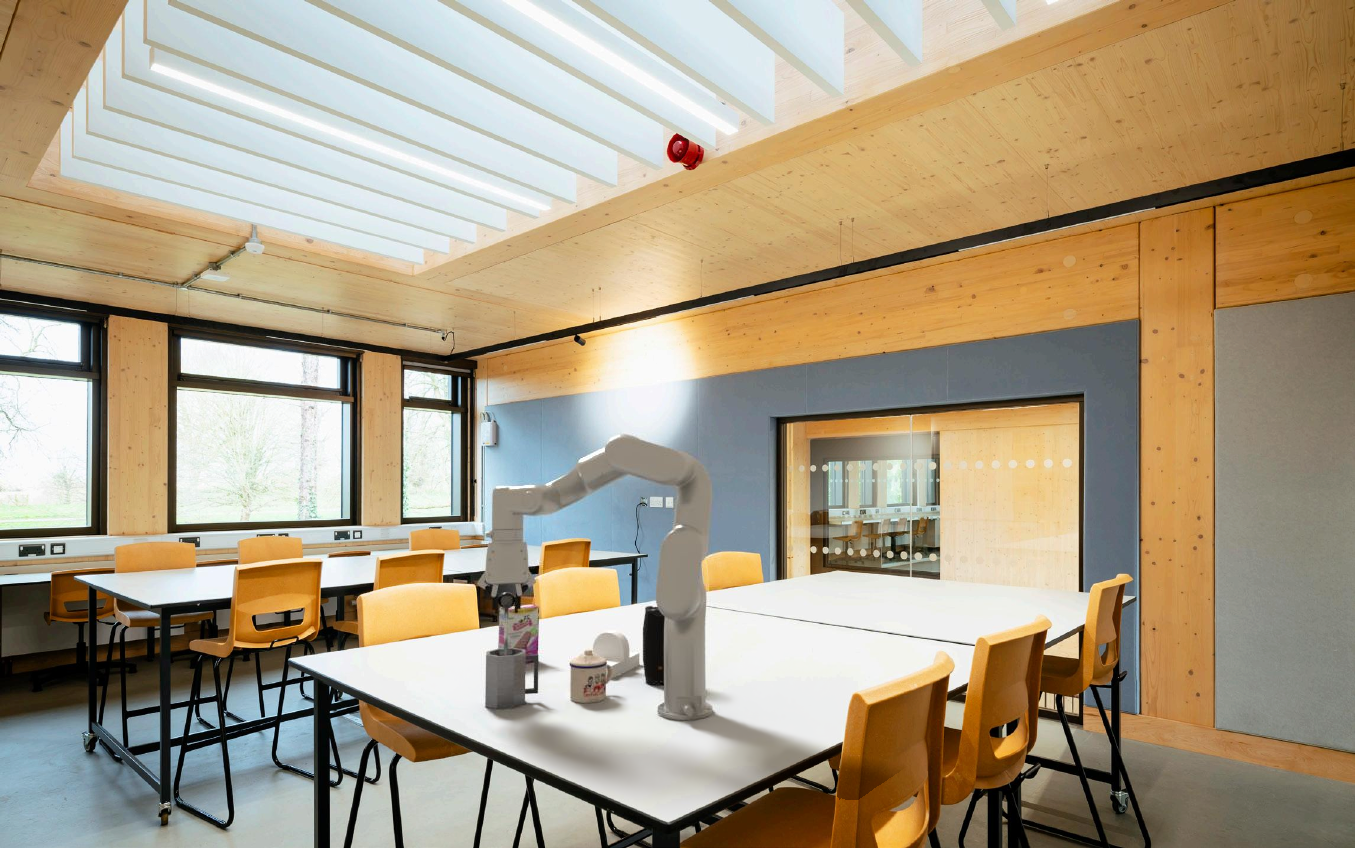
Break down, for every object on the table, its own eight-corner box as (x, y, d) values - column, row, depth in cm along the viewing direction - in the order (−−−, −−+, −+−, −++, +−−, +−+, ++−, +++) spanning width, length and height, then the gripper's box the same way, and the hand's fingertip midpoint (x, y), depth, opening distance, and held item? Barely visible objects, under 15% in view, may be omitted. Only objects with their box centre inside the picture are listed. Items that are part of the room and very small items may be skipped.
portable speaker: (670, 687, 192) (669, 610, 193) (637, 684, 195) (636, 608, 197) (682, 679, 200) (681, 605, 201) (650, 676, 203) (649, 604, 205)
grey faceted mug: (538, 706, 176) (539, 654, 177) (484, 710, 173) (485, 657, 174) (536, 696, 185) (537, 646, 186) (485, 699, 182) (486, 649, 183)
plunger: (518, 662, 177) (519, 593, 178) (492, 664, 176) (493, 594, 177) (518, 657, 183) (519, 590, 184) (493, 658, 181) (494, 591, 183)
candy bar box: (505, 667, 215) (506, 609, 217) (497, 664, 219) (498, 607, 221) (539, 661, 223) (539, 605, 224) (531, 658, 226) (531, 603, 228)
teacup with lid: (585, 706, 176) (585, 655, 177) (561, 699, 182) (562, 650, 183) (623, 696, 184) (623, 647, 185) (599, 689, 191) (599, 642, 192)
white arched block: (611, 680, 201) (611, 638, 202) (580, 676, 205) (580, 635, 206) (640, 665, 218) (640, 627, 219) (610, 662, 221) (610, 624, 222)
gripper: (471, 538, 176) (470, 616, 175) (543, 536, 180) (542, 613, 179) (472, 536, 184) (471, 611, 182) (541, 534, 187) (540, 608, 186)
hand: (506, 611), depth 180 cm, fingers closed on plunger, 4 cm apart
